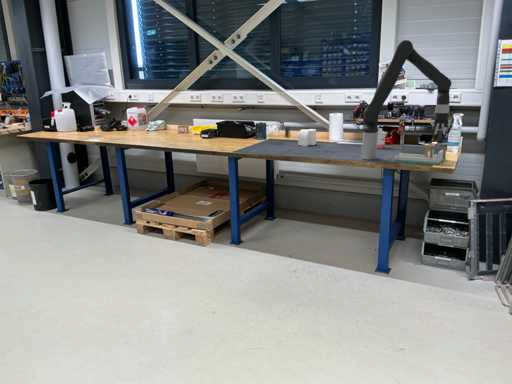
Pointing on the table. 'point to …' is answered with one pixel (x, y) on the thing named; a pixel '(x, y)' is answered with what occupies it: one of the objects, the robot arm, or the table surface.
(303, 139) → the light grey block
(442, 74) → the robot arm
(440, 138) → the striker
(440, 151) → the translucent green rectangular tray
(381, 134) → the ink cartridge box
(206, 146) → the table surface
